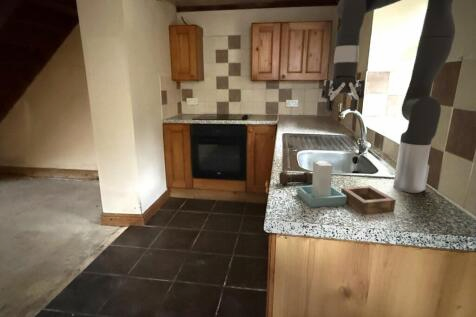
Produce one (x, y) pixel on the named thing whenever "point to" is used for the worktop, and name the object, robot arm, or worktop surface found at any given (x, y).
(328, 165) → the skincare box
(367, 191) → the holder
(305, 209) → the worktop surface
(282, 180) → the bolt
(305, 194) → the tray
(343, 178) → the worktop surface
